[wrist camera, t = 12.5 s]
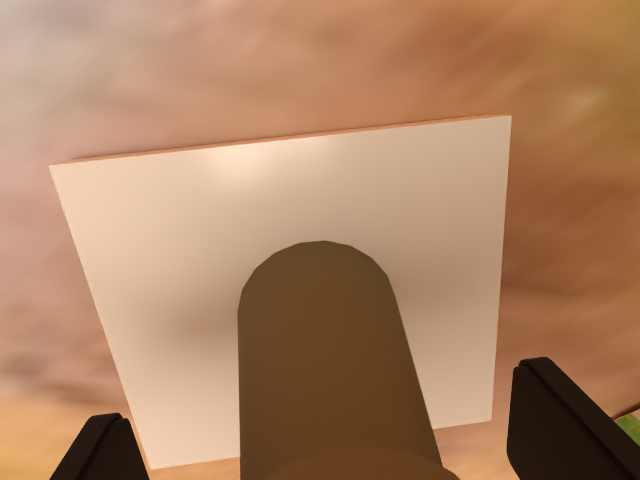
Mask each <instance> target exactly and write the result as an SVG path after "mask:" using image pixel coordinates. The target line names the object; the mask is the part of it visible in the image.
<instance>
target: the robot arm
mask: <svg viewBox="0 0 640 480" xmlns="http://www.w3.org/2000/svg"><path fill="white" fill-rule="evenodd" d="M507 455H508V459H509V461H510V464H511V465H512V467H513V469H514V471H515V472H516V474H517V475H518V477H519V479H520V480H640V446H639V445H638V444H637V443H636V442H635V441H634V440H633V439H632V438H631V437H630V436H629V435H628V434H627V433H626V432H625V431H624V430H623V429H622V428H621V427H620V426H618V425H617V424H616V423H615V422H614V421H613V420H612V419H611V418H610V417H609V416H608V415H607V414H606V413H605V412H604V411H603V410H602V409H601V408H600V407H599V406H598V405H597V404H596V403H595V402H594V401H593V400H592V399H591V398H589V397H588V396H587V395H586V394H585V393H584V392H583V391H582V390H581V389H580V388H579V387H578V386H577V385H576V384H575V383H574V382H573V381H572V380H571V379H570V378H569V377H568V376H567V375H566V374H565V373H564V372H563V371H562V370H561V369H560V368H559V367H558V366H557V365H556V364H555V363H554V362H553V361H552V360H550V359H549V358H547V357H539V358H531V359H524V360H521V361H520V363H519V367H515V368H514V370H513V380H512V391H511V403H510V414H509V426H508V437H507ZM49 480H149V477H148V474H147V471H146V468H145V465H144V462H143V459H142V456H141V453H140V450H139V448H138V445H137V442H136V439H135V436H134V433H133V430H132V427H131V424H130V422H129V420H128V419H127V418H122V416H121V414H119V413H111V414H103V415H96V416H92V417H90V418H89V419H88V421H87V422H86V423H85V425H84V426H83V428H82V430H81V431H80V433H79V434H78V436H77V437H76V439H75V440H74V442H73V444H72V445H71V447H70V448H69V450H68V451H67V453H66V454H65V456H64V458H63V459H62V461H61V462H60V464H59V465H58V467H57V468H56V470H55V472H54V473H53V475H52V476H51V478H50V479H49Z"/></svg>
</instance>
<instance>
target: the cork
mask: <svg viewBox="0 0 640 480" xmlns="http://www.w3.org/2000/svg"><path fill="white" fill-rule="evenodd" d="M237 318H238V371H239V425H240V478H241V480H460V479H459V478H458V477H457V476H456V475H455V474H454V473H452V472H451V471H449V470H447V469H445V468H443V465H442V462H441V458H440V455H439V451H438V447H437V444H436V440H435V437H434V433H433V430H432V426H431V422H430V419H429V415H428V412H427V408H426V404H425V401H424V397H423V394H422V390H421V387H420V383H419V379H418V376H417V372H416V369H415V365H414V362H413V358H412V354H411V351H410V347H409V344H408V340H407V337H406V333H405V329H404V326H403V322H402V319H401V315H400V312H399V308H398V304H397V301H396V297H395V294H394V292H393V289H392V286H391V284H390V281H389V278H388V276H387V274H386V273H385V272H384V271H383V270H382V269H381V268H380V266H379V265H378V264H377V263H376V262H375V261H374V259H373V258H371V257H370V256H368V255H366V254H364V253H363V252H361V251H359V250H357V249H356V248H354V247H352V246H350V245H345V244H340V243H336V242H331V241H326V240H324V241H313V242H302V243H297V244H295V245H292V246H290V247H287V248H285V249H282V250H280V251H278V252H275V253H273V254H272V255H271V256H270V257H269V258H267V259H266V260H265V261H264V262H263V263H261V264H260V265H259V266H258V267H257V268H255V269H254V271H253V273H252V274H251V276H250V278H249V279H248V281H247V282H246V284H245V286H244V287H243V289H242V292H241V297H240V302H239V307H238V312H237Z"/></svg>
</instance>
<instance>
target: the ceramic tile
mask: <svg viewBox="0 0 640 480" xmlns="http://www.w3.org/2000/svg"><path fill="white" fill-rule="evenodd" d="M511 120H512V115H496V114H487V115H477V116H468V117H459V118H450V119H440V120H431V121H422V122H413V123H403V124H394V125H385V126H376V127H366V128H357V129H348V130H339V131H330V132H320V133H311V134H302V135H293V136H283V137H274V138H265V139H256V140H246V141H237V142H228V143H219V144H209V145H200V146H191V147H182V148H173V149H163V150H154V151H145V152H136V153H126V154H117V155H108V156H99V157H89V158H80V159H72V160H68V161H64V162H61V163H57V164H53V165H49V169H50V172H51V175H52V178H53V181H54V184H55V187H56V190H57V193H58V196H59V199H60V202H61V205H62V208H63V210H64V213H65V216H66V219H67V222H68V225H69V228H70V231H71V234H72V237H73V240H74V243H75V246H76V249H77V252H78V255H79V258H80V261H81V264H82V267H83V270H84V273H85V276H86V279H87V282H88V285H89V288H90V291H91V294H92V297H93V300H94V303H95V306H96V309H97V312H98V315H99V318H100V321H101V324H102V327H103V329H104V332H105V335H106V338H107V341H108V344H109V347H110V350H111V353H112V356H113V359H114V362H115V365H116V368H117V371H118V374H119V377H120V380H121V383H122V386H123V389H124V392H125V395H126V398H127V401H128V404H129V407H130V410H131V413H132V416H133V419H134V422H135V425H136V428H137V431H138V434H139V437H140V440H141V443H142V446H143V449H144V451H145V454H146V457H147V460H148V463H149V466H150V469H158V468H165V467H172V466H179V465H186V464H193V463H200V462H207V461H214V460H221V459H228V458H235V457H240V425H239V371H238V318H237V312H238V307H239V302H240V297H241V292H242V289H243V287H244V286H245V284H246V282H247V281H248V279H249V278H250V276H251V274H252V273H253V271H254V269H255V268H257V267H258V266H259V265H260V264H261V263H263V262H264V261H265V260H266V259H267V258H269V257H270V256H271V255H272V254H273V253H275V252H278V251H280V250H282V249H285V248H287V247H290V246H292V245H295V244H297V243H302V242H313V241H324V240H326V241H331V242H336V243H340V244H345V245H350V246H352V247H354V248H356V249H357V250H359V251H361V252H363V253H364V254H366V255H368V256H370V257H371V258H373V259H374V261H375V262H376V263H377V264H378V265H379V266H380V268H381V269H382V270H383V271H384V272H385V273H386V274H387V276H388V278H389V281H390V284H391V286H392V289H393V292H394V294H395V297H396V301H397V304H398V308H399V312H400V315H401V319H402V322H403V326H404V329H405V333H406V337H407V340H408V344H409V347H410V351H411V354H412V358H413V362H414V365H415V369H416V372H417V376H418V379H419V383H420V387H421V390H422V394H423V397H424V401H425V404H426V408H427V412H428V415H429V419H430V422H431V426H432V429H437V428H444V427H451V426H458V425H465V424H472V423H479V422H485V421H491V417H492V402H493V387H494V372H495V358H496V343H497V328H498V313H499V298H500V283H501V268H502V254H503V239H504V224H505V209H506V194H507V179H508V164H509V150H510V135H511Z"/></svg>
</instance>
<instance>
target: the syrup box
mask: <svg viewBox="0 0 640 480" xmlns="http://www.w3.org/2000/svg"><path fill="white" fill-rule="evenodd" d="M614 422H615V423H616V424H617V425H618V426H620V427H621V428H622V429H623V430H624V431H625V432H626V433H627V434H628V435H629V436H630V437H631V438H632V439H633V440H634V441H635V442H636V443H637V444H638V445H639V446H640V409H638V410H636V411H634V412H631V413H629V414H626V415H623V416H621V417H619V418H617V419H615V420H614Z"/></svg>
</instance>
